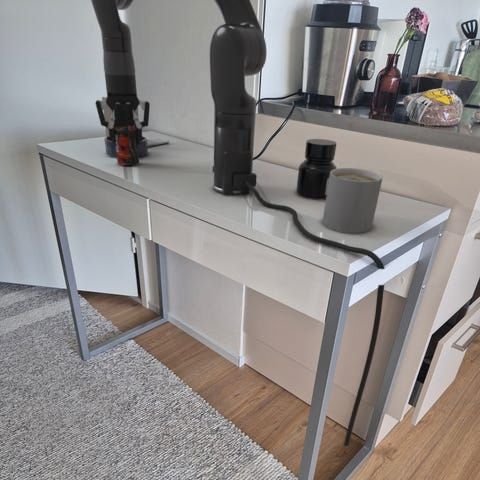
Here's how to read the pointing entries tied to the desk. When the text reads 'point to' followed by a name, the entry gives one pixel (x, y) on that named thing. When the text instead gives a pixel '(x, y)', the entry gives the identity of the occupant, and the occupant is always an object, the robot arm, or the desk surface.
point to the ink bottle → (316, 168)
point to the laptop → (150, 140)
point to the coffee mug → (351, 200)
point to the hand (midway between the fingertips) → (126, 142)
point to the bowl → (112, 147)
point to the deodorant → (125, 134)
